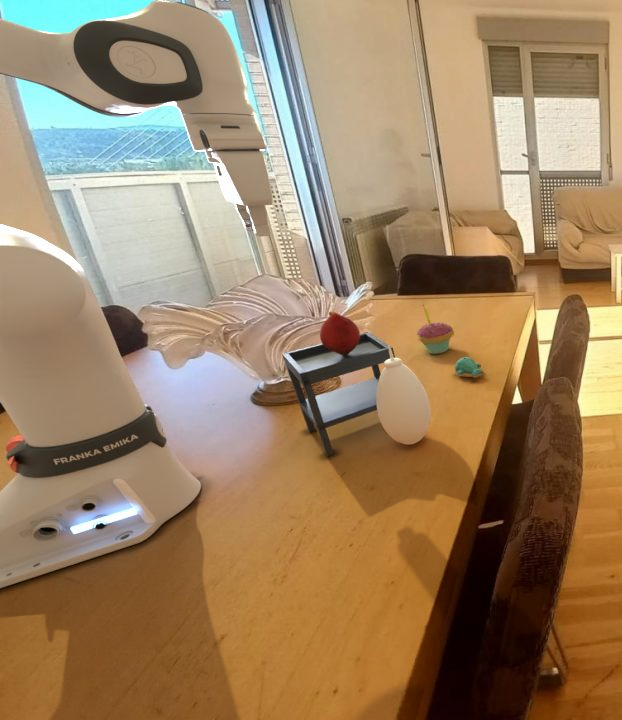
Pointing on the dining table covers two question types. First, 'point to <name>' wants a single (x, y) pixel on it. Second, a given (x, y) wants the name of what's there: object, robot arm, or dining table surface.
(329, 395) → the rack
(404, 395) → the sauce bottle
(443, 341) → the cupcake
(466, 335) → the dining table surface
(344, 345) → the onion
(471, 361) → the teal animal figurine
